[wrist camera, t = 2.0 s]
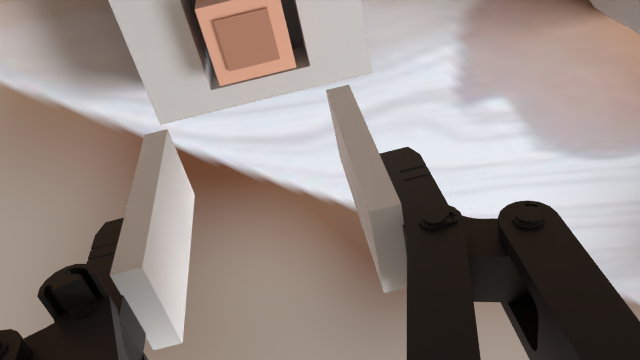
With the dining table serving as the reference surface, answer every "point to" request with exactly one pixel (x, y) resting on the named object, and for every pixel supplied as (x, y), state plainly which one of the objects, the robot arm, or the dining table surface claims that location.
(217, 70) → the key
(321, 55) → the keypad
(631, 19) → the cup
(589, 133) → the dining table surface
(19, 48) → the dining table surface
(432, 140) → the dining table surface
